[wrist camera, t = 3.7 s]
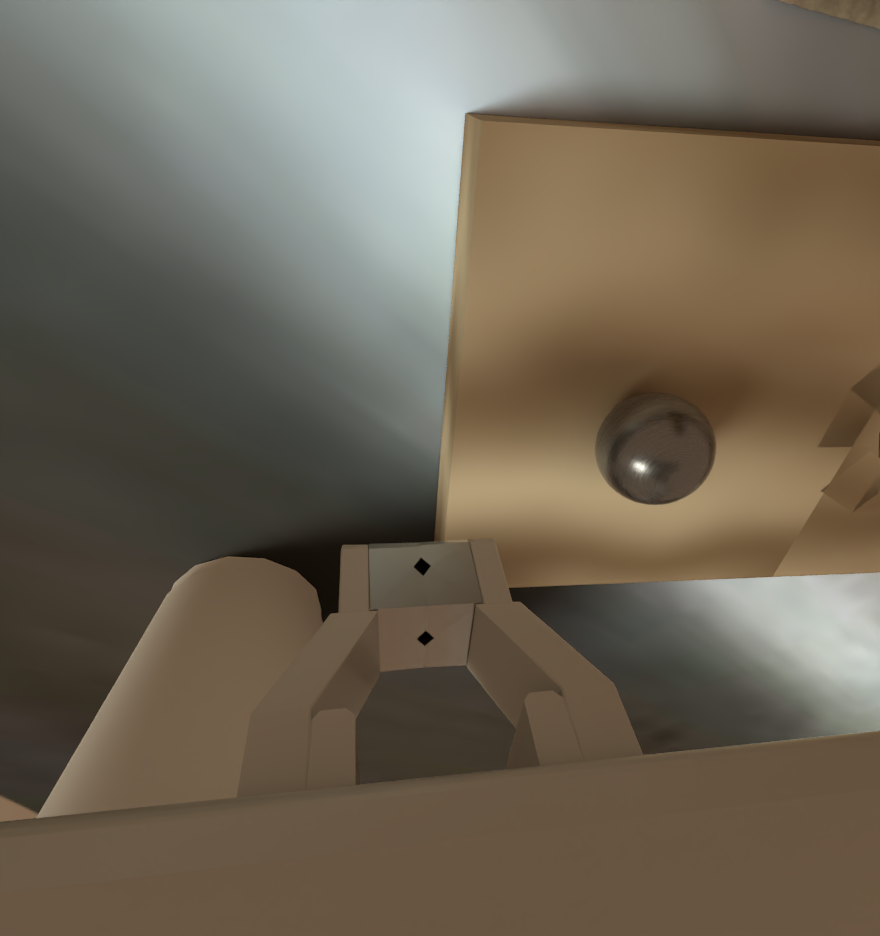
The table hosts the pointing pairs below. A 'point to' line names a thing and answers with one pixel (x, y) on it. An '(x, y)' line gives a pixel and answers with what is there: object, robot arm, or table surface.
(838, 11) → the condiment
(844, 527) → the wooden board
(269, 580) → the foam cup
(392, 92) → the table surface
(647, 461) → the ball
